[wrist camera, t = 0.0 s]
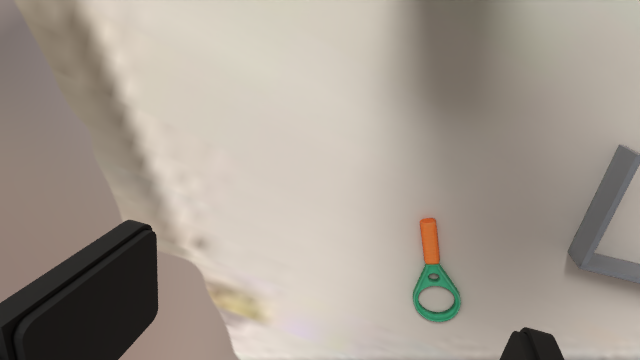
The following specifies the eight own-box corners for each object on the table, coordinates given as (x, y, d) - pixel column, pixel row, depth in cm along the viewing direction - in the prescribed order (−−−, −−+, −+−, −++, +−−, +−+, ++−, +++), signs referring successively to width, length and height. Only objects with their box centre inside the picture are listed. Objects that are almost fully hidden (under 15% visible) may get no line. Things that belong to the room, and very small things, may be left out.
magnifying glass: (461, 316, 52) (462, 325, 50) (415, 315, 54) (415, 324, 52) (453, 215, 47) (454, 221, 46) (403, 218, 49) (402, 224, 47)
